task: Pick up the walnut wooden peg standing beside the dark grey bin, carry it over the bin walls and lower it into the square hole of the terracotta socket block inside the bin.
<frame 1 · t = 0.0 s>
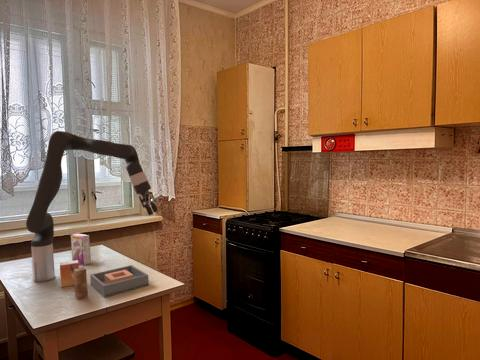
hand: (153, 213, 169), 31 cm above the table, tool tilted 20°, fingers open, 8 cm apart
small box: (70, 284, 163), on the table
candy bar box: (81, 263, 196), on the table
walnut peg: (81, 296, 147), on the table
walled bin: (119, 285, 160), on the table
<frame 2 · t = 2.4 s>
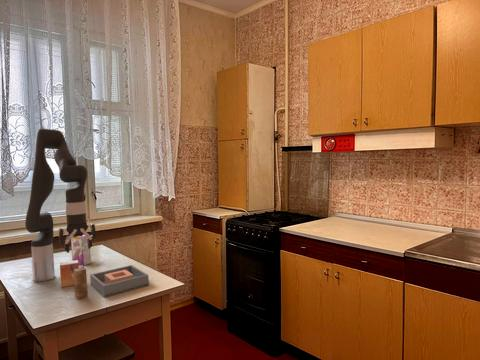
hand: (78, 250, 146), 20 cm above the table, tool pointing down, fingers open, 8 cm apart
nothing on the table moved.
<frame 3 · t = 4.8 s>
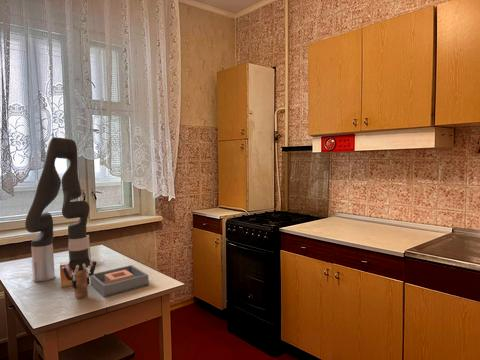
hand: (80, 286, 147), 4 cm above the table, tool pointing down, fingers closed on walnut peg, 4 cm apart
walnut peg: (81, 296, 147), on the table, touching gripper
everything else where it was.
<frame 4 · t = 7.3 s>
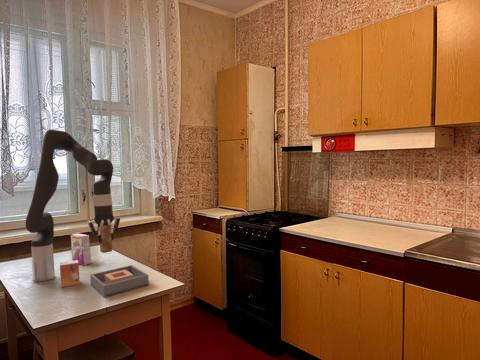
hand: (105, 241, 154), 22 cm above the table, tool pointing down, fingers closed on walnut peg, 4 cm apart
walnut peg: (106, 251, 154), point 17 cm above the table, touching gripper
everything else where it was.
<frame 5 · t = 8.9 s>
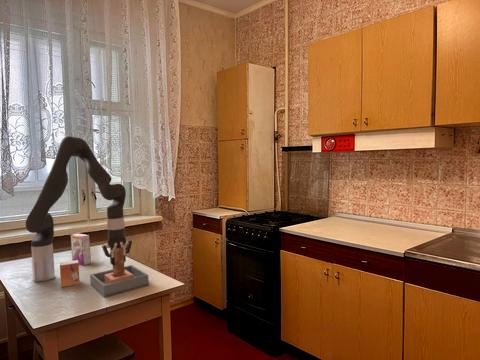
hand: (118, 263, 159), 10 cm above the table, tool pointing down, fingers closed on walnut peg, 4 cm apart
walnut peg: (118, 272, 159), point 6 cm above the table, touching gripper
everything else where it was.
when the fingers open (7 cm above the table, at t = 10.2 s): walnut peg drops 2 cm, resting on walled bin.
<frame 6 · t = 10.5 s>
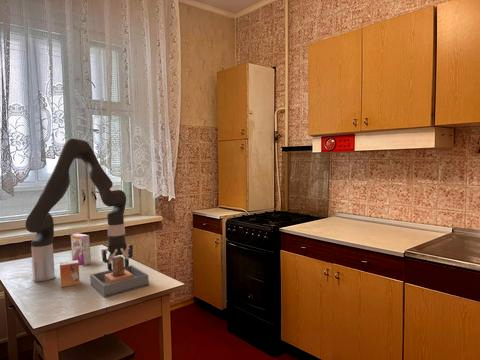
hand: (118, 268, 159), 8 cm above the table, tool pointing down, fingers open, 6 cm apart
walnut peg: (119, 283, 159), point 1 cm above the table, touching walled bin
everything else where it was.
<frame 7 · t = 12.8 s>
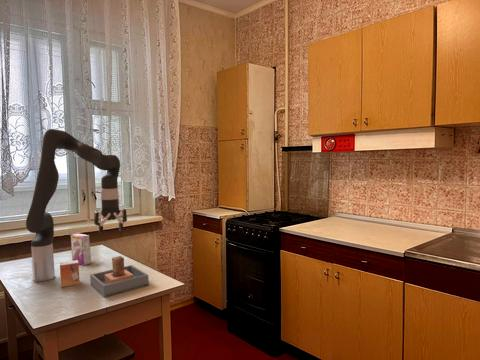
hand: (111, 232, 160), 24 cm above the table, tool pointing down, fingers open, 8 cm apart
nothing on the table moved.
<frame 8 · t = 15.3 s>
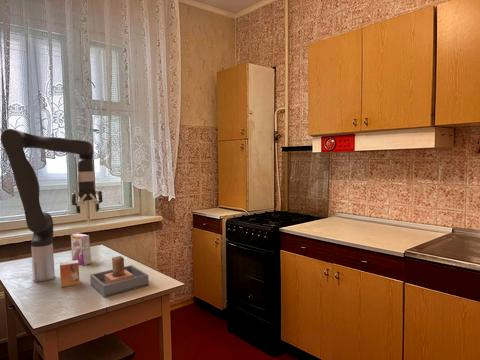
hand: (88, 212, 174), 32 cm above the table, tool pointing down, fingers open, 8 cm apart
nothing on the table moved.
at the end: walnut peg 0.0 cm off-centre on the walled bin, point 1.0 cm above the walled bin's base; walnut peg tilted 0°; the gripper is holding nothing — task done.
